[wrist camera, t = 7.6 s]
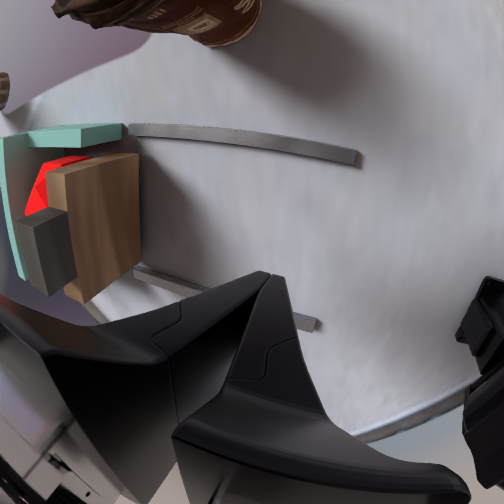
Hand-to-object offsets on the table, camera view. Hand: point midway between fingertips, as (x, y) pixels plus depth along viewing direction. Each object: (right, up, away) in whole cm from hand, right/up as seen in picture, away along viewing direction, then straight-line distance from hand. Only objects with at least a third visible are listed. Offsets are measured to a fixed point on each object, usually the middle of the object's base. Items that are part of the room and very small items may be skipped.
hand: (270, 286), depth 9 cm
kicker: (-11, +5, +17) cm, 21 cm away
